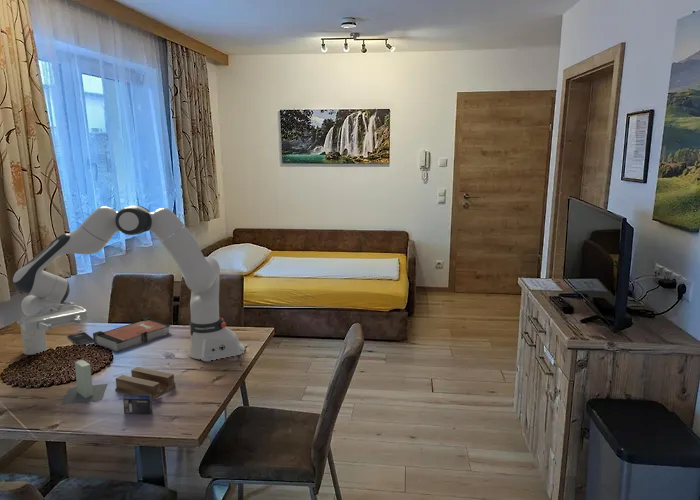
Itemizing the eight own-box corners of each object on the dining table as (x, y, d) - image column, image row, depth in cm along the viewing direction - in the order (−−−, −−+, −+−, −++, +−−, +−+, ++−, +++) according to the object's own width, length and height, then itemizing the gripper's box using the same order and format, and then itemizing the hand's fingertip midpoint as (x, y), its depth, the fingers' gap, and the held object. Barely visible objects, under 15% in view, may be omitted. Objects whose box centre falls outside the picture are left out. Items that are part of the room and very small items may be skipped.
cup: (18, 352, 197) (15, 324, 194) (38, 345, 204) (35, 318, 202) (32, 355, 194) (29, 327, 191) (51, 348, 201) (48, 321, 199)
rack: (139, 378, 176) (138, 366, 175) (175, 386, 170) (174, 373, 170) (115, 391, 166) (114, 379, 165) (152, 400, 160) (152, 387, 159)
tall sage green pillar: (85, 389, 166) (82, 359, 164) (93, 395, 162) (90, 364, 160) (77, 392, 164) (74, 361, 162) (85, 397, 160) (82, 366, 158)
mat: (107, 384, 171) (107, 383, 171) (101, 400, 159) (101, 399, 159) (69, 389, 167) (69, 388, 167) (60, 405, 156) (60, 404, 156)
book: (118, 353, 199) (117, 341, 198) (93, 344, 208) (92, 333, 207) (171, 334, 221) (171, 324, 220) (147, 327, 230) (146, 316, 229)
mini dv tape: (124, 413, 152) (123, 396, 151) (126, 411, 153) (125, 393, 152) (150, 414, 152) (149, 396, 151) (152, 411, 153) (151, 394, 152)
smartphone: (84, 331, 220) (95, 340, 209) (84, 333, 220) (95, 342, 209) (66, 335, 214) (76, 345, 204) (66, 337, 215) (76, 347, 204)
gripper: (14, 312, 166) (29, 323, 158) (77, 301, 182) (94, 310, 174) (15, 329, 167) (30, 341, 159) (77, 317, 183) (94, 327, 175)
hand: (64, 325), depth 167 cm, fingers open, 8 cm apart
